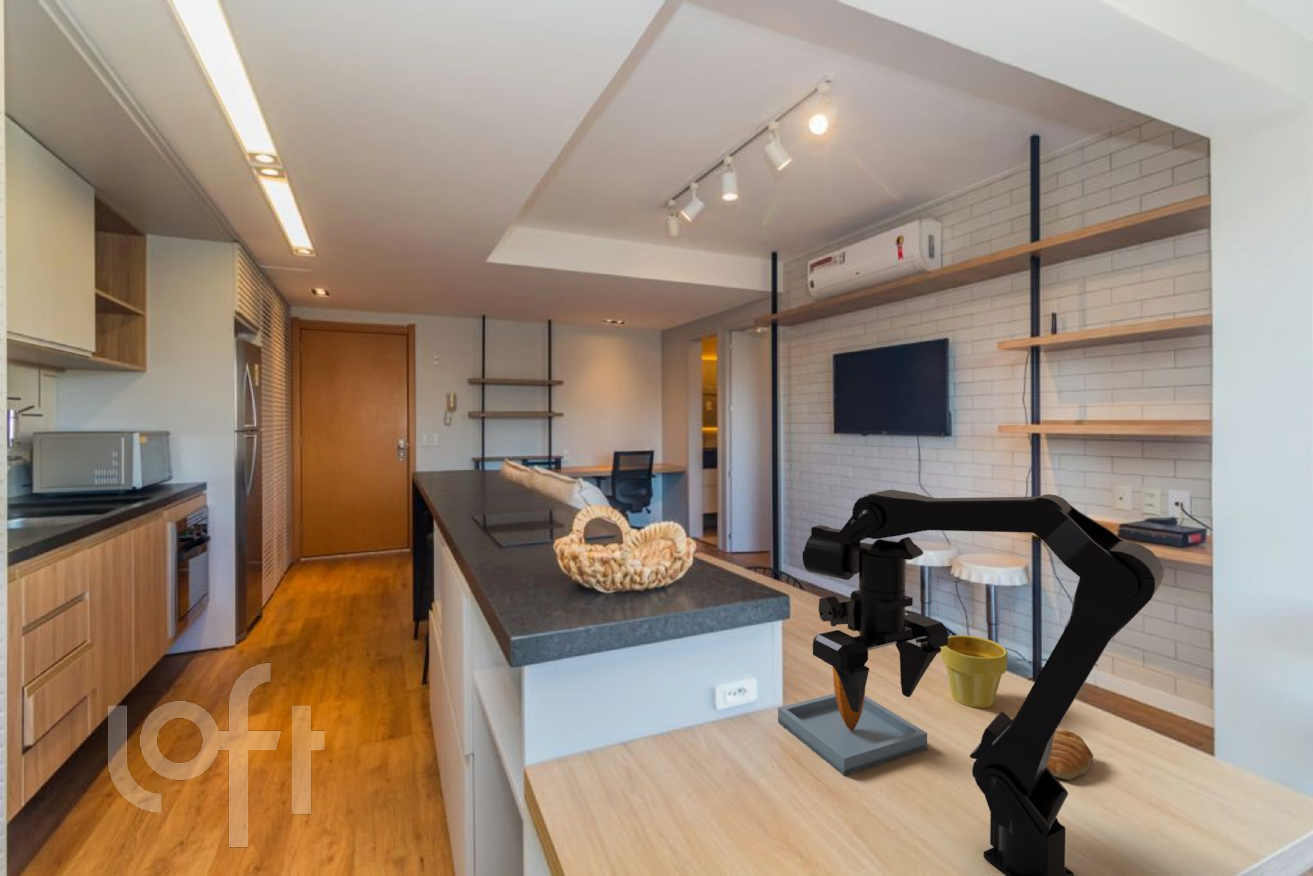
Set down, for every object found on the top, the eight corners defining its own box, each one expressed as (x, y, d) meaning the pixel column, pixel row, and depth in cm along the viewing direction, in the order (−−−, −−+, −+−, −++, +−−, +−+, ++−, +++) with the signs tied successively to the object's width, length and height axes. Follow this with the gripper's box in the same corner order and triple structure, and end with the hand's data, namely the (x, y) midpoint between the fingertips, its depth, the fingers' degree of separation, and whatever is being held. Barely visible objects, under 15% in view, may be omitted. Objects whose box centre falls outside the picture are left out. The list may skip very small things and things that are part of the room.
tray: (927, 749, 91) (927, 733, 91) (844, 775, 84) (844, 758, 84) (853, 702, 105) (853, 688, 105) (778, 722, 99) (778, 707, 99)
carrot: (828, 729, 95) (824, 636, 95) (848, 719, 98) (844, 629, 98) (854, 741, 91) (850, 644, 91) (874, 731, 94) (870, 637, 94)
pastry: (1085, 791, 81) (1085, 764, 80) (1027, 772, 85) (1027, 746, 85) (1094, 761, 88) (1094, 735, 87) (1040, 744, 92) (1040, 720, 92)
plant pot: (1014, 717, 100) (1015, 660, 99) (947, 710, 102) (948, 654, 102) (996, 689, 110) (997, 637, 109) (935, 683, 112) (936, 632, 112)
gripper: (886, 564, 89) (885, 666, 90) (785, 580, 81) (786, 692, 82) (951, 583, 79) (950, 698, 80) (844, 604, 71) (843, 731, 72)
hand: (881, 703), depth 79 cm, fingers open, 9 cm apart
